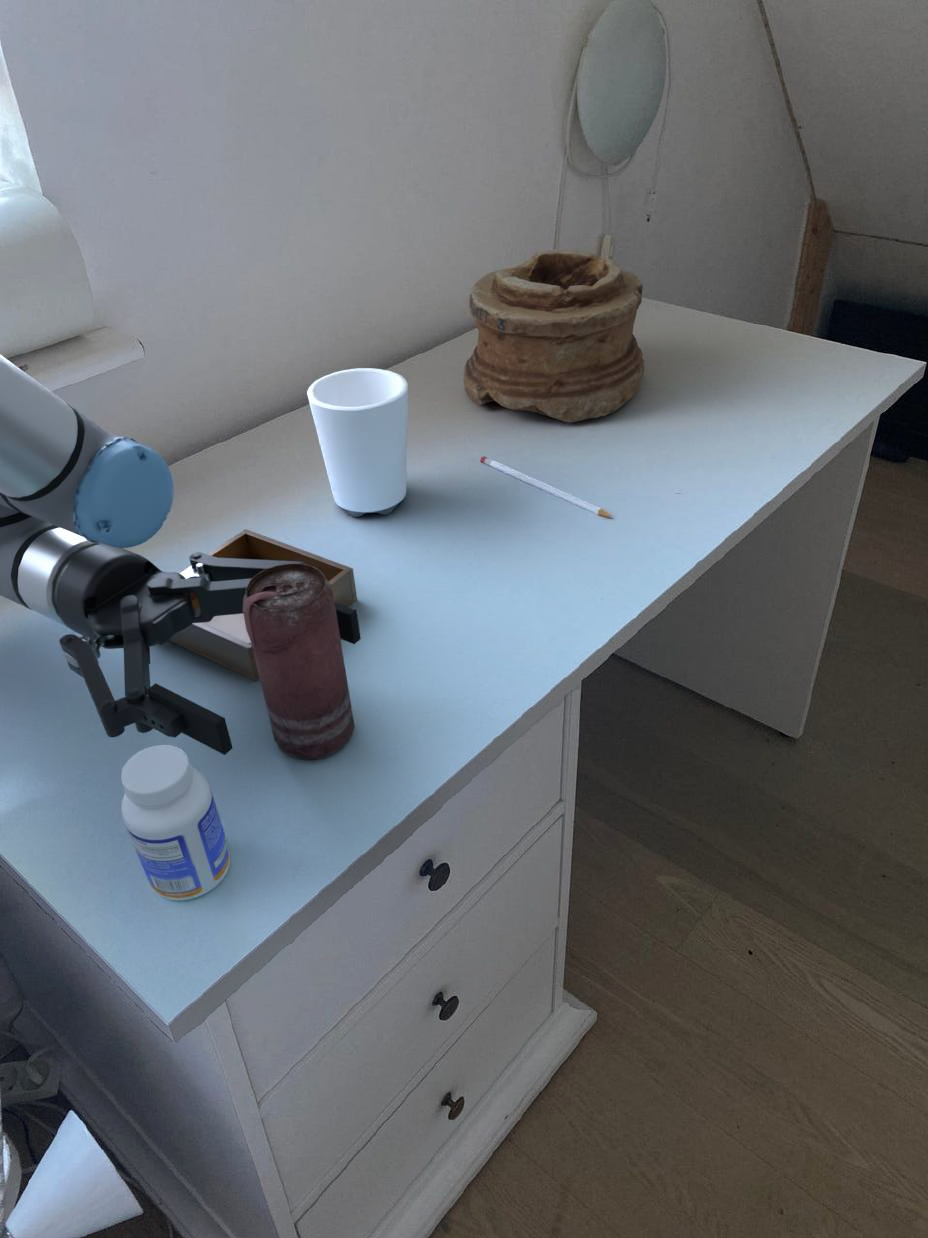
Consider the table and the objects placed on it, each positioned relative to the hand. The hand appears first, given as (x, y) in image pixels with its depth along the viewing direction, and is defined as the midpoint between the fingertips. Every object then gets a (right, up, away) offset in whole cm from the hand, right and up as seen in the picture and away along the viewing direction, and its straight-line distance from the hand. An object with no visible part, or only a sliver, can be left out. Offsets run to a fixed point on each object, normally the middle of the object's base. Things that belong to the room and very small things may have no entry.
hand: (295, 678), depth 65 cm
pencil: (+20, +18, +35) cm, 44 cm away
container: (+23, +33, +56) cm, 69 cm away
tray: (-7, +4, +20) cm, 21 cm away
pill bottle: (-6, -13, -3) cm, 14 cm away
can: (0, -5, +7) cm, 9 cm away
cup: (+2, +16, +35) cm, 38 cm away
